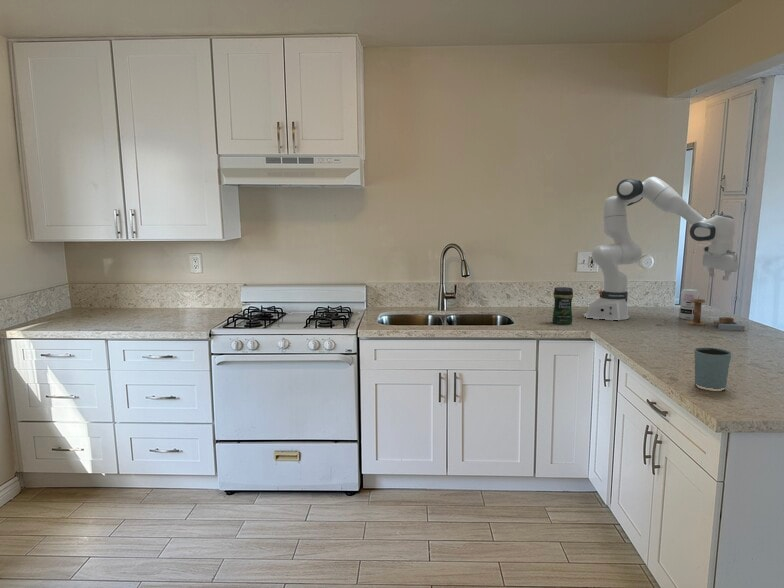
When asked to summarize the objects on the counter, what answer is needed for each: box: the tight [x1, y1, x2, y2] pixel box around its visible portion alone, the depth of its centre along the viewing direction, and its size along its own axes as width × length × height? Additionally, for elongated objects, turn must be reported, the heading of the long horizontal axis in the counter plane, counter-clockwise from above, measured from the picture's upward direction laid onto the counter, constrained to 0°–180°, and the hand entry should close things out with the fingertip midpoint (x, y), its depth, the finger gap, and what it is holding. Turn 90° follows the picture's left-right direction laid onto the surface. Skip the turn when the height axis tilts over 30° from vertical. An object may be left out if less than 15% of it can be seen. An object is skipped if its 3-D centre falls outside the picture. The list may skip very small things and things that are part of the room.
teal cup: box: [694, 347, 732, 389], centre depth 172 cm, size 10×10×12 cm
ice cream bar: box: [712, 316, 735, 325], centre depth 255 cm, size 8×3×5 cm, turn 81°
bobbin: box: [688, 298, 706, 327], centre depth 264 cm, size 7×7×12 cm
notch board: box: [713, 319, 746, 331], centre depth 255 cm, size 10×11×2 cm
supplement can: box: [679, 288, 700, 321], centre depth 277 cm, size 8×8×15 cm
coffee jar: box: [552, 286, 574, 325], centre depth 272 cm, size 10×8×19 cm
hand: (718, 278), depth 255 cm, fingers open, 8 cm apart
